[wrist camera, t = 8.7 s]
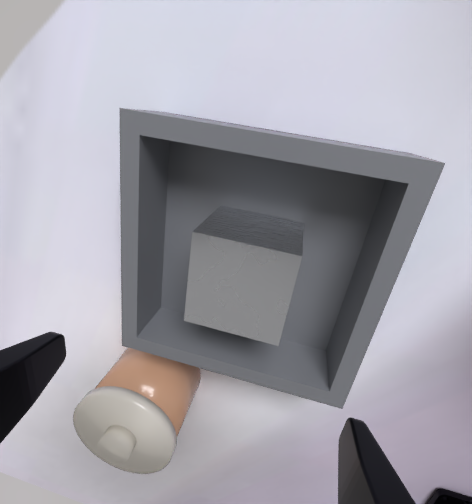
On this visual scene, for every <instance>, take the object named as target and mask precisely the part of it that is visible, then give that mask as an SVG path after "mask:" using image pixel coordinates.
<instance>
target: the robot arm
mask: <svg viewBox="0 0 472 504" xmlns="http://www.w3.org/2000/svg"><path fill="white" fill-rule="evenodd" d="M65 357H66V347H65V338H64V336H63V335H62V334H59V333H55V332H48V333H45V334H43V335H40V336H37V337H35V338H32V339H29V340H27V341H24V342H21V343H19V344H16V345H13V346H11V347H8V348H6V349H3V350H0V443H1V442H2V441H3V440H4V438H5V437H6V436H7V435H8V434H9V433H10V431H11V430H12V429H13V428H14V427H15V425H16V424H17V423H18V422H19V421H20V420H21V418H22V417H23V416H24V415H25V414H26V413H27V411H28V410H29V409H30V408H31V406H32V405H33V404H34V402H35V401H36V400H37V398H38V397H39V396H40V394H41V393H42V391H43V390H44V389H45V387H46V386H47V384H48V383H49V382H50V380H51V379H52V377H53V376H54V374H55V373H56V372H57V370H58V369H59V367H60V366H61V365H62V363H63V362H64V360H65ZM338 504H416V503H415V502H414V500H413V499H412V497H411V496H410V494H409V492H408V491H407V489H406V488H405V486H404V484H403V483H402V481H401V480H400V478H399V476H398V475H397V473H396V472H395V470H394V468H393V467H392V465H391V464H390V462H389V460H388V459H387V457H386V456H385V454H384V452H383V451H382V449H381V448H380V446H379V444H378V443H377V441H376V440H375V438H374V436H373V435H372V433H371V432H370V430H369V428H368V427H367V425H366V424H365V423H364V422H363V421H361V420H358V419H354V418H348V419H347V421H346V423H345V425H344V428H343V430H342V432H341V435H340V438H339V454H338ZM428 504H472V498H471V497H468V496H465V495H462V494H458V493H455V492H452V491H449V490H445V489H439V490H437V491H436V493H435V494H434V495H433V497H432V498H431V499H430V501H429V502H428Z"/></svg>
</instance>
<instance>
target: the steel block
mask: <svg viewBox="0 0 472 504" xmlns="http://www.w3.org/2000/svg"><path fill="white" fill-rule="evenodd" d="M303 232H304V223H303V222H299V221H294V220H289V219H284V218H279V217H275V216H270V215H265V214H260V213H256V212H251V211H246V210H241V209H237V208H232V207H227V206H222V205H221V206H220V207H219V208H218V209H216V210H215V211H214V212H213V213H212V214H211V215H210V216H209V217H208V218H207V219H206V220H204V221H203V222H202V223H201V224H200V225H199V226H198V227H197V228H196V229H195V230H194V231H193V232H192V241H191V251H190V262H189V272H188V283H187V293H186V303H185V314H184V321H187V322H191V323H194V324H198V325H202V326H206V327H209V328H213V329H217V330H220V331H224V332H228V333H232V334H235V335H239V336H243V337H246V338H250V339H254V340H258V341H261V342H265V343H269V344H273V345H276V346H279V342H280V338H281V335H282V331H283V327H284V323H285V320H286V316H287V312H288V308H289V304H290V301H291V297H292V293H293V289H294V286H295V282H296V278H297V274H298V271H299V267H300V263H301V259H302V252H303Z"/></svg>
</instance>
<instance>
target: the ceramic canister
mask: <svg viewBox="0 0 472 504" xmlns="http://www.w3.org/2000/svg"><path fill="white" fill-rule="evenodd" d="M200 376H201V375H200V369H199V368H198V367H195V366H191V365H188V364H184V363H181V362H177V361H174V360H170V359H167V358H163V357H160V356H156V355H153V354H149V353H146V352H143V351H139V350H136V349H132V348H129V347H128V348H127V350H126V351H125V352H124V353H123V354H122V356H121V357H120V358H119V359H118V361H117V362H116V363H115V364H114V366H113V367H112V368H111V369H110V371H109V372H108V373H107V374H106V375H105V377H104V378H103V379H102V380H101V382H100V383H99V384H98V385H97V387H96V388H95V389H93V390H92V391H90V392H89V393H88V394H86V396H85V397H84V398H83V399H82V400H81V402H80V403H79V404H78V405H77V407H76V408H75V411H74V415H73V422H74V427H75V430H76V432H77V434H78V436H79V438H80V439H81V441H82V442H83V443H84V444H85V446H86V447H87V448H88V449H89V450H90V451H91V452H92V453H93V454H95V455H96V456H97V457H99V458H100V459H101V460H103V461H104V462H106V463H108V464H110V465H112V466H114V467H116V468H119V469H121V470H124V471H127V472H132V473H138V474H149V473H154V472H157V471H160V470H162V469H163V468H165V467H166V466H167V465H168V463H169V462H170V460H171V457H172V455H173V452H174V450H175V448H176V444H177V435H178V433H179V430H180V428H181V426H182V423H183V421H184V419H185V416H186V414H187V411H188V409H189V407H190V404H191V402H192V400H193V397H194V395H195V393H196V390H197V388H198V385H199V383H200Z"/></svg>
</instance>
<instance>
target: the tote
mask: <svg viewBox="0 0 472 504" xmlns="http://www.w3.org/2000/svg"><path fill="white" fill-rule="evenodd" d="M444 165H445V163H443V162H439V161H436V160H432V159H429V158H425V157H422V156H418V155H415V154H411V153H405V152H399V151H393V150H387V149H381V148H375V147H369V146H363V145H357V144H352V143H346V142H340V141H334V140H328V139H322V138H316V137H310V136H304V135H298V134H292V133H286V132H280V131H274V130H268V129H262V128H256V127H250V126H244V125H238V124H232V123H226V122H220V121H214V120H208V119H202V118H196V117H190V116H184V115H178V114H172V113H166V112H158V111H147V110H135V109H123V108H120V192H121V290H122V346H125V347H129V348H132V349H136V350H139V351H143V352H146V353H149V354H153V355H156V356H160V357H163V358H167V359H170V360H174V361H177V362H181V363H184V364H188V365H191V366H195V367H198V368H202V369H205V370H209V371H212V372H216V373H219V374H223V375H226V376H230V377H233V378H237V379H240V380H244V381H247V382H251V383H254V384H258V385H261V386H265V387H268V388H272V389H275V390H278V391H282V392H285V393H289V394H292V395H296V396H299V397H303V398H306V399H310V400H313V401H317V402H320V403H324V404H327V405H331V406H334V407H338V408H341V409H342V408H343V406H344V403H345V401H346V399H347V396H348V394H349V391H350V389H351V387H352V384H353V382H354V379H355V377H356V375H357V372H358V370H359V368H360V365H361V363H362V360H363V358H364V356H365V353H366V351H367V348H368V346H369V344H370V341H371V339H372V337H373V334H374V332H375V329H376V327H377V325H378V322H379V320H380V317H381V315H382V313H383V310H384V308H385V305H386V303H387V301H388V298H389V296H390V294H391V291H392V289H393V286H394V284H395V282H396V279H397V277H398V274H399V272H400V270H401V267H402V265H403V263H404V260H405V258H406V255H407V253H408V251H409V248H410V246H411V243H412V241H413V239H414V236H415V234H416V232H417V229H418V227H419V224H420V222H421V220H422V217H423V215H424V212H425V210H426V208H427V205H428V203H429V201H430V198H431V196H432V193H433V191H434V189H435V186H436V184H437V181H438V179H439V177H440V174H441V172H442V170H443V167H444ZM221 205H222V206H227V207H232V208H237V209H241V210H246V211H251V212H256V213H260V214H265V215H270V216H275V217H279V218H284V219H289V220H294V221H299V222H303V223H304V232H303V252H302V259H301V263H300V267H299V271H298V274H297V278H296V282H295V286H294V289H293V293H292V297H291V301H290V304H289V308H288V312H287V316H286V320H285V323H284V327H283V331H282V335H281V338H280V342H279V346H276V345H273V344H269V343H265V342H261V341H258V340H254V339H250V338H246V337H243V336H239V335H235V334H232V333H228V332H224V331H220V330H217V329H213V328H209V327H206V326H202V325H198V324H194V323H191V322H187V321H184V314H185V303H186V293H187V283H188V272H189V262H190V251H191V241H192V232H193V231H194V230H195V229H196V228H197V227H198V226H199V225H200V224H201V223H202V222H203V221H204V220H206V219H207V218H208V217H209V216H210V215H211V214H212V213H213V212H214V211H215V210H216V209H218V208H219V207H220V206H221Z"/></svg>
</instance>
